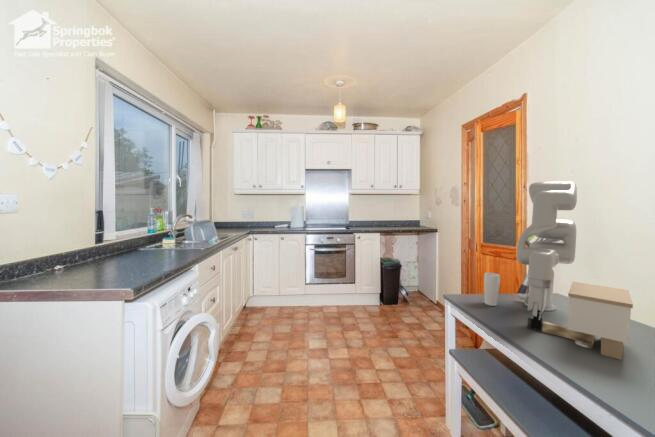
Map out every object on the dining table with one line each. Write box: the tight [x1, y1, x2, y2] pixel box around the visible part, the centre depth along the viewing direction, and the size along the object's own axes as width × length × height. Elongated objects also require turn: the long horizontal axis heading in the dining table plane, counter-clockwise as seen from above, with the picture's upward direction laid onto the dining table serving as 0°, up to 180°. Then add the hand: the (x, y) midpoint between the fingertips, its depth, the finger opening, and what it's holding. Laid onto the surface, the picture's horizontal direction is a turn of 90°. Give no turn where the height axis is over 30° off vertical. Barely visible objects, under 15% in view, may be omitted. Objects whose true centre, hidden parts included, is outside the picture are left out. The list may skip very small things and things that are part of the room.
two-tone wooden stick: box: [526, 317, 595, 346], centre depth 114 cm, size 20×2×4 cm, turn 48°
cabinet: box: [566, 281, 634, 360], centre depth 106 cm, size 16×21×19 cm
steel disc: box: [574, 339, 594, 349], centre depth 107 cm, size 5×5×1 cm
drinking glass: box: [483, 272, 501, 307], centre depth 146 cm, size 7×7×15 cm
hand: (536, 327), depth 119 cm, fingers closed on two-tone wooden stick, 1 cm apart
